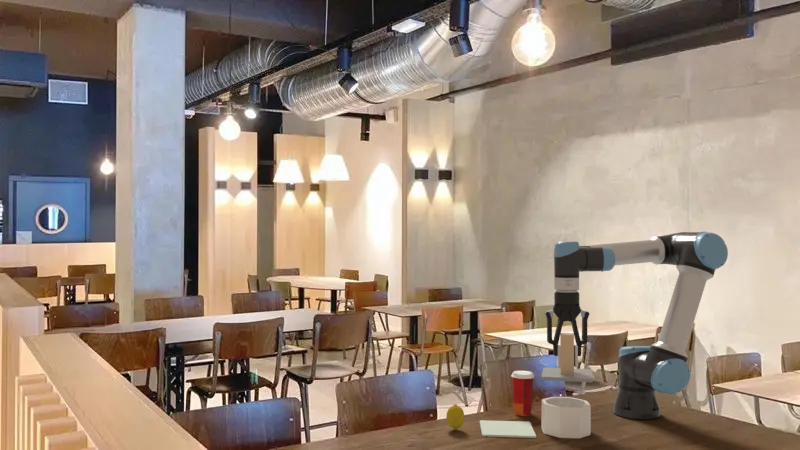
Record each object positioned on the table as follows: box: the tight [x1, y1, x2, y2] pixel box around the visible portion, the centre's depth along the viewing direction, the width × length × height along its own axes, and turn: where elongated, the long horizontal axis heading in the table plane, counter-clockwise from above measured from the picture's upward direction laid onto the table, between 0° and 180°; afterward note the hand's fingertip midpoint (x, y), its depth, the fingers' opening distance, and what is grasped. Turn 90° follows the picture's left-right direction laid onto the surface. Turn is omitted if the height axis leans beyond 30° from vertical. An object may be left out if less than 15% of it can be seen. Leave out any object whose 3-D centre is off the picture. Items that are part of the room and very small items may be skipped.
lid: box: [541, 332, 594, 383], centre depth 215 cm, size 15×15×13 cm
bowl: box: [540, 396, 592, 439], centre depth 215 cm, size 14×14×9 cm
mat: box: [479, 419, 537, 439], centre depth 216 cm, size 16×16×1 cm
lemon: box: [445, 403, 465, 431], centre depth 215 cm, size 6×6×8 cm
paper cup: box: [510, 370, 535, 417], centre depth 236 cm, size 8×8×14 cm
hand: (567, 366), depth 215 cm, fingers closed on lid, 4 cm apart
